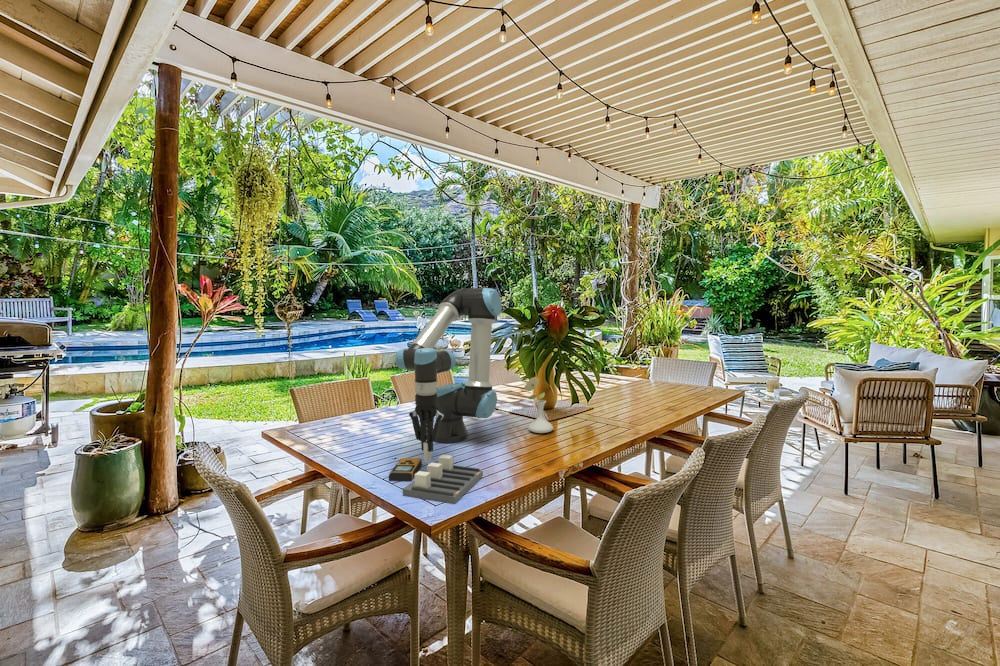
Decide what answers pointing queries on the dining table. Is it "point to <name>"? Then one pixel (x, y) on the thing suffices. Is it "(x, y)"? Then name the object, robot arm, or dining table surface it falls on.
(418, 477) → the tab
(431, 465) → the tab
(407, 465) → the electronic device
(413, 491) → the switch bank
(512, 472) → the dining table surface
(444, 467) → the tab
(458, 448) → the dining table surface
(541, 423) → the flower in vase
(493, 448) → the dining table surface
